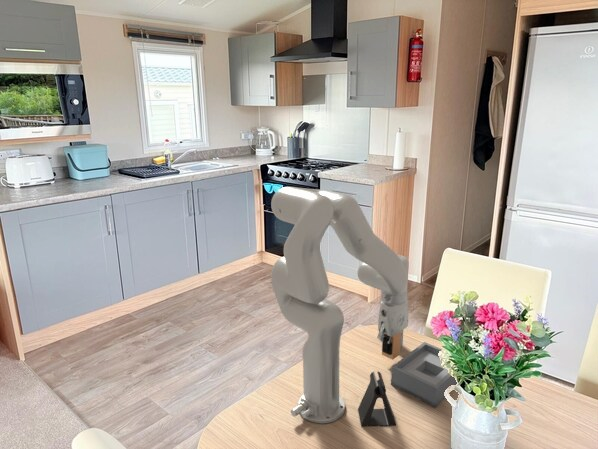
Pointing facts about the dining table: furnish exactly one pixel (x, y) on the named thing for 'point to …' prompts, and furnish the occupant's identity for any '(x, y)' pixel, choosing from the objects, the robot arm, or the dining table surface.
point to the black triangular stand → (366, 407)
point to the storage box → (422, 375)
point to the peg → (394, 346)
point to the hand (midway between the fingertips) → (391, 349)
